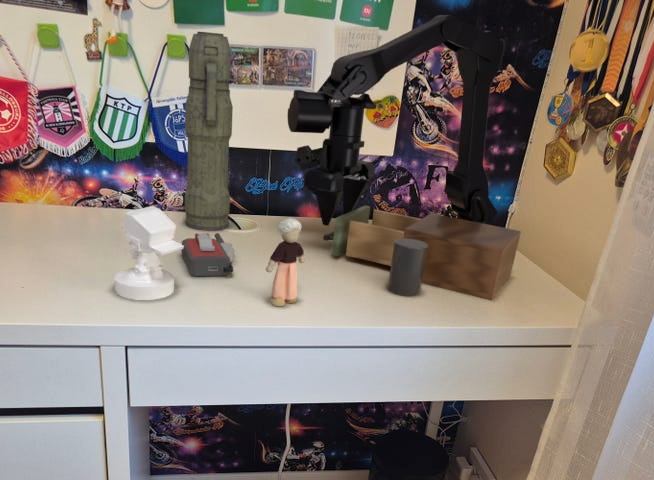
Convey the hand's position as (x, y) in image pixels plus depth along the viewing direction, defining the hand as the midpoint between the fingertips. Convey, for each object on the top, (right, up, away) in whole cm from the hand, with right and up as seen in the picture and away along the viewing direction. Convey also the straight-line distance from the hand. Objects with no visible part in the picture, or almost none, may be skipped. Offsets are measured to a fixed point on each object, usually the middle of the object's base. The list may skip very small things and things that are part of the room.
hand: (336, 220), depth 121 cm
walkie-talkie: (-23, -9, -10) cm, 27 cm away
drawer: (+7, -6, -1) cm, 10 cm away
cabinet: (+21, -12, -7) cm, 25 cm away
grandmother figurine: (-9, -18, -24) cm, 31 cm away
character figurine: (-30, -16, -25) cm, 42 cm away
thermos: (-26, +1, +9) cm, 28 cm away
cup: (+10, -15, -16) cm, 24 cm away
